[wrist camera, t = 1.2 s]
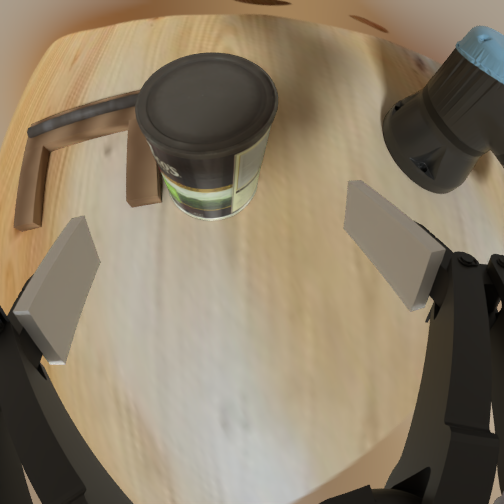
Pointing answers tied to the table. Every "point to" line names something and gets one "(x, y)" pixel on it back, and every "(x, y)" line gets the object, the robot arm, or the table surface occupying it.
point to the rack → (78, 130)
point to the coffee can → (208, 130)
